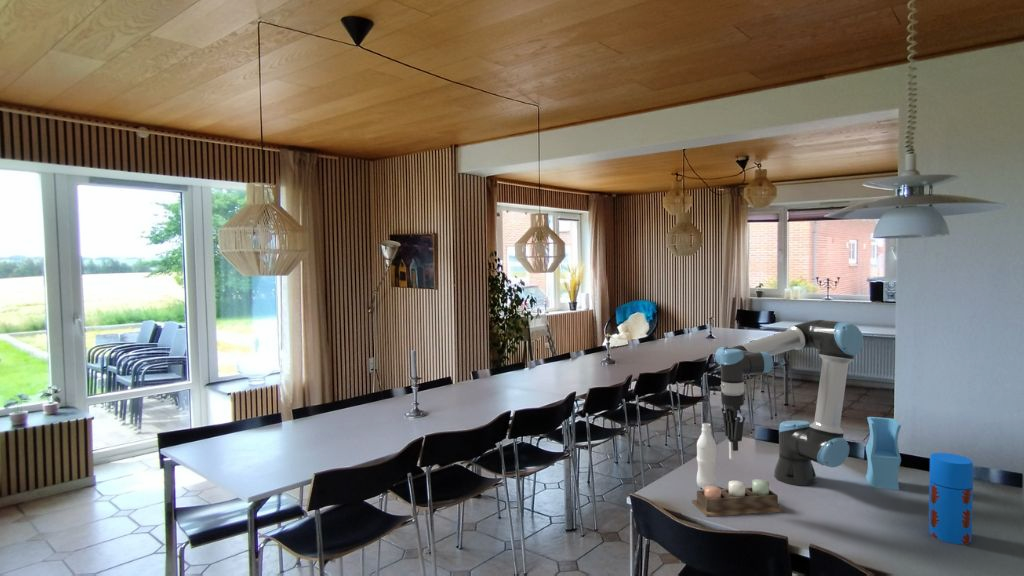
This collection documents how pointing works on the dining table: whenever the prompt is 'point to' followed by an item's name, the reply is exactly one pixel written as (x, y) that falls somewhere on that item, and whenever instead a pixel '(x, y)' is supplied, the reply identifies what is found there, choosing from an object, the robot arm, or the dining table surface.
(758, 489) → the pale green rounded block
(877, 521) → the dining table surface
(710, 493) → the pink rounded block
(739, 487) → the cream key
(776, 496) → the brown wooden holder
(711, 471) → the water bottle
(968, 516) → the thermos
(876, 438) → the vase
